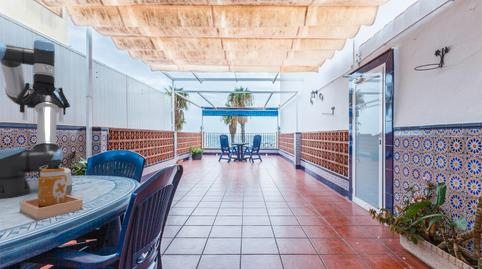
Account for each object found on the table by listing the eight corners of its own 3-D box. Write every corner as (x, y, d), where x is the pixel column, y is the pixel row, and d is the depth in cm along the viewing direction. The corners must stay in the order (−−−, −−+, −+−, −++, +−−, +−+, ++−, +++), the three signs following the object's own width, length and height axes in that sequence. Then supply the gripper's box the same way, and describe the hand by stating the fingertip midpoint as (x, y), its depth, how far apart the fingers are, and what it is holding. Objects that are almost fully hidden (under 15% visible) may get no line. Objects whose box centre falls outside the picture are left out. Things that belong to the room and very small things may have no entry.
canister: (50, 212, 90) (50, 160, 90) (27, 210, 93) (27, 159, 93) (72, 205, 99) (72, 157, 99) (50, 204, 101) (50, 157, 101)
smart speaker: (52, 200, 110) (52, 170, 110) (44, 197, 115) (44, 168, 115) (75, 195, 118) (75, 167, 118) (66, 193, 123) (67, 166, 123)
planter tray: (19, 211, 94) (19, 201, 94) (63, 202, 107) (63, 193, 107) (36, 220, 85) (37, 209, 85) (82, 209, 98) (82, 199, 98)
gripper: (10, 67, 97) (10, 119, 97) (78, 79, 118) (77, 122, 118) (4, 69, 101) (4, 119, 101) (70, 81, 122) (70, 122, 122)
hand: (43, 121), depth 110 cm, fingers open, 13 cm apart
